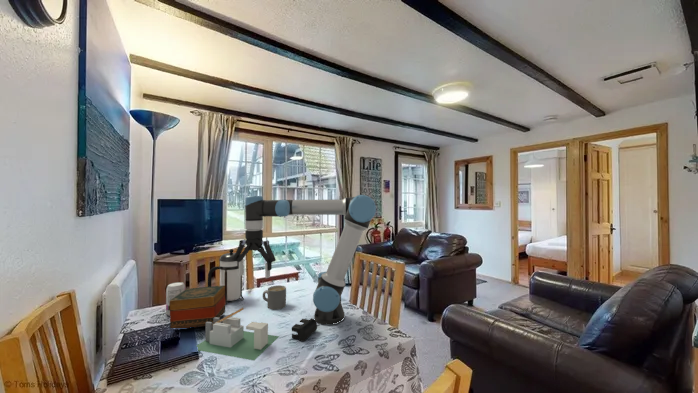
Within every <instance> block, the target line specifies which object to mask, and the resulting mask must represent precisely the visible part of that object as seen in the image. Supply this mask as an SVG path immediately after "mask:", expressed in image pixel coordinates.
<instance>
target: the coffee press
mask: <svg viewBox="0 0 698 393" xmlns="http://www.w3.org/2000/svg"><path fill="white" fill-rule="evenodd" d="M228 251H229V252H227V253H224V254H222V255H221V256H220V258H219V259H218V260H219V266H213V267H211V269H209V271H208V272H207V287H212V276H213V275H212V274H213V273H214V272H215V271H217V270H219V286H225V306H227V304H228V302H232V301H236V300H239V301H241V302H243V300H245V298H244V296H243V275H242V276H239V268H238V267H237V261H236V260H234V259H233V258H234V256H235V253H236V252H234V249H233V248H230V249H229V250H228ZM241 254H242V253H241ZM241 254H240V255H241ZM242 261H244V262H245V259H244V258H243V259H242Z"/></svg>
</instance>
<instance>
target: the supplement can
mask: <svg viewBox="0 0 698 393" xmlns="http://www.w3.org/2000/svg"><path fill="white" fill-rule="evenodd" d="M184 290H186V285H185V283H184V282H179V281H177V282H172V283H169V284H168V285H167V286H166V290H165V291H166V292H165V296H166V298H165V304H166V305H165V306H166V307H165V314H166V316H168V317H170V308H169V304H170V300H171V299H173V298H174V297H176V296H177V295H178V294H180V293H181V292H183V291H184Z"/></svg>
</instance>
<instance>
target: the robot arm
mask: <svg viewBox="0 0 698 393" xmlns="http://www.w3.org/2000/svg"><path fill="white" fill-rule="evenodd" d="M244 209H245V210H244V211H245V213H244V215H245V219H244V221H245V222H244V226H245V232H244V233H245V234H244V235H245V236H244V238H245V239H240V240H239V243H238V244H239V245H238V247H237V249H236V251H235V252H234V253H235V256H234V258H233V259H234V260H236V261H237V267H238V268H239V276H242V277H243V276H244V275H245V261H242V259H244V258H245V256H247V254H248V253H249V252H250V251H255V252H256V251H257V252H258V253H259V254H260V255H261V257H262V258H263V260H265V262H266V263H264V264H265V265H264V266H265V268H264V269H265V274H264V276H265V278H264V279H269V278H270V277H271V270H273V269H272V267H273V266H272V264H273V263H274V262H276V260H277V259H276V257H275V254H274V252H273V250H272V248H271V246H270V240H263V238H264V231H263V229H264V228H263V226H264V223H263V222H264V219H263V218H264V217H265V218H266V217H271V218H272V217H280V218H282V217H288V216H292V215H293V216H294V215H297V216H300V215H301V216H305V215H307V216H308V215H309V216H310V215H311V216H313V215H316V216H317V215H321V216H324V215H326V216H330V215H331V216H332V215H334V216H337V215H340V216H342V215H343V216H344V218H343V220H344V222H345V224H344V227H343V229H342V232H341V235H340V237H339V240H338V241H337V244H336V247H335V250H334V251H333V253H332V257H331V259H330V263H329V264H328V267H327V270H326V271H321V272H319V273H318V275H317V285H316V288H315V291H314V292H313V295H312V301H313V305H314V306H315V311H314V315H313V316H314V318H313V319H315V321H316V322H318V323H317V324H319V323H321V324H320V325H323V324H333V323H337V322H339V321H341V320H342V319H343V318H344V316H345V310H344V307H343V304H342V295H343V292H344V289H345V286H346V282H345V278H346V275H347V272H348V271H349V267H350V265H351V262H352V260H353V258H354V255H355V252H356V250H357V247H358V244H359V243H360V241H361V238H362V235H363V233H364V231H366V230H368V229H369V226H370V224H371V222H372V219H373V218H374V217H375V215H376V212H377V206H376V203H375V201H374V199H373V198H372V197H371V196H368V195H365V194H358V195H356V196H349V197H344V198H343V199H272V200H271V199H270V200H269V199H268V200H267V199H264V198H263V196H262V195H248V196H246V197H245V203H244ZM244 247H245V248H244ZM240 254H241V255H240ZM344 319H345V318H344Z"/></svg>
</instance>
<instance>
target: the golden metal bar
mask: <svg viewBox="0 0 698 393" xmlns="http://www.w3.org/2000/svg"><path fill="white" fill-rule="evenodd" d="M242 311H244V307H241V308H239V309H238V310H235V311H234V312H232V313H231V314H228V315H227V316H224V317H223V318H220V320H219V321H217V323H223V320H225V319H227V318H229V317H233V316H235V315H236V314H238V313H240V312H242ZM215 323H216V322H214V323H212V328H213V324H215Z"/></svg>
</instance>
